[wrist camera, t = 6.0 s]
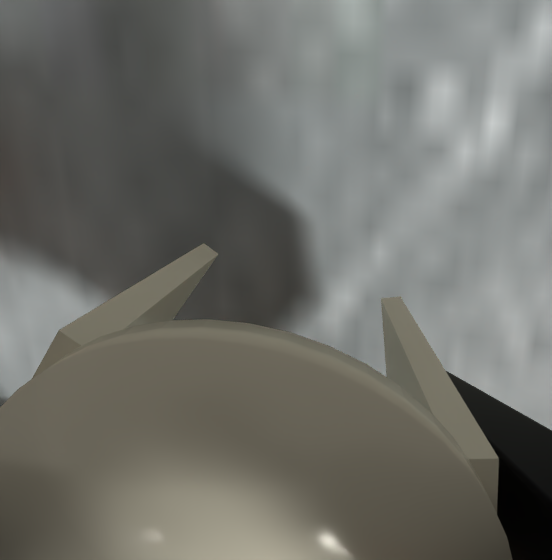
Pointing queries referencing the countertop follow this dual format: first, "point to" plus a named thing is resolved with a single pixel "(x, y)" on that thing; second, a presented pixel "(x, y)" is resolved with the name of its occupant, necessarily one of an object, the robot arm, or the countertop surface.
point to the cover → (239, 443)
